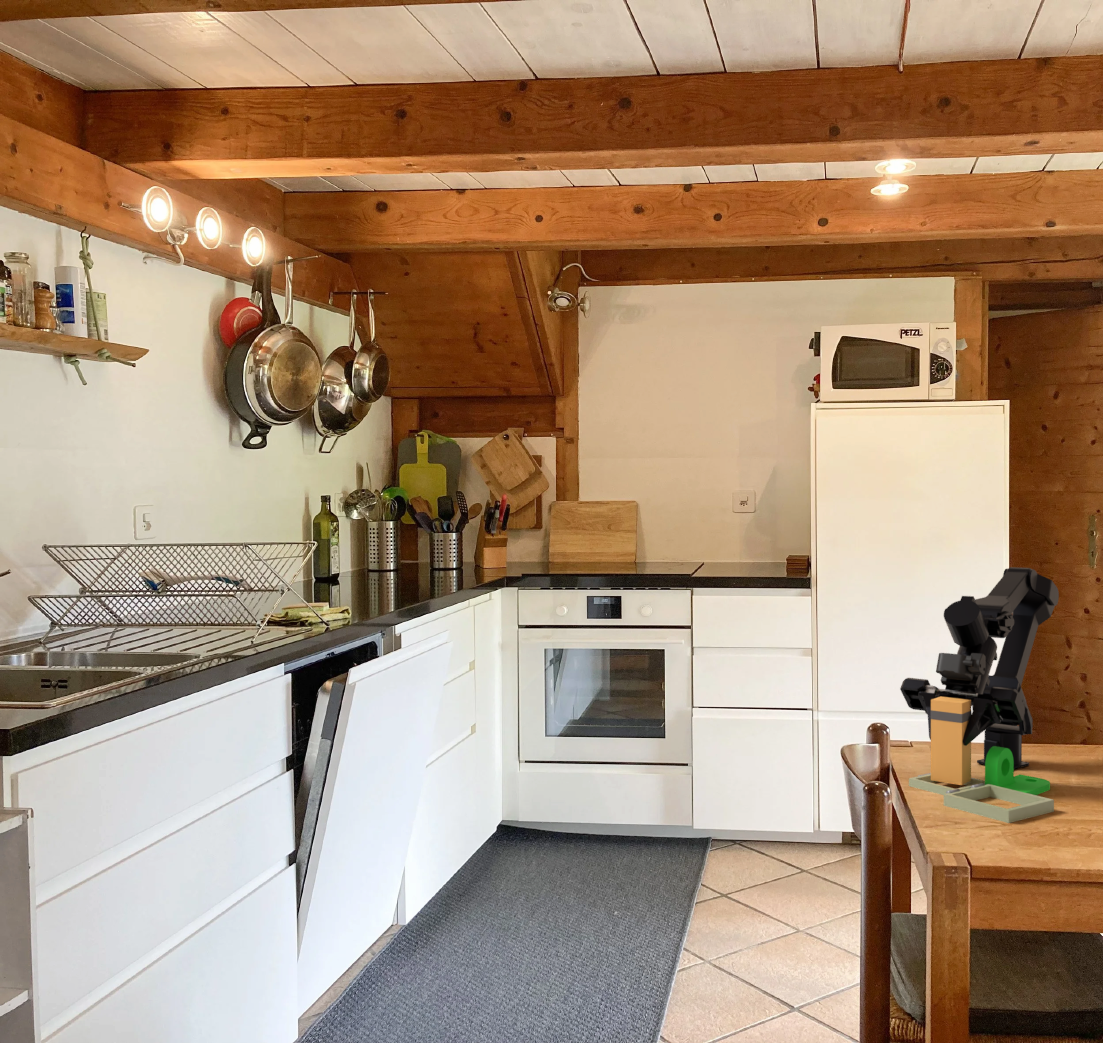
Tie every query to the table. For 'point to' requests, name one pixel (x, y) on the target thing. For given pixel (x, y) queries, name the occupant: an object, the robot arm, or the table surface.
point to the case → (1028, 808)
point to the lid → (928, 784)
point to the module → (950, 740)
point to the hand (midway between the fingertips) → (947, 741)
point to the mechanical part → (1010, 773)
